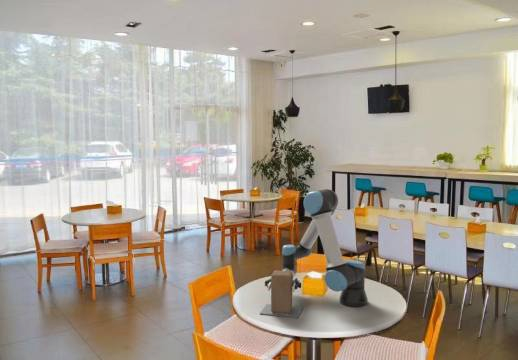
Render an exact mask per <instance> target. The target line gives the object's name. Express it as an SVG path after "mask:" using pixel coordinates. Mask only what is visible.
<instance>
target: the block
mask: <svg viewBox="0 0 518 360" xmlns="http://www.w3.org/2000/svg"><path fill="white" fill-rule="evenodd" d="M270 279H271V289H270V304H271V311H272V312H275V313H290V311H291V308H292V306H293V292H292V287H293V286H292V272H291V271H282V270H278V269H277V270H273V272H272V274H271V276H270Z"/></svg>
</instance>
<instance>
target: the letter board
mask: <svg viewBox="0 0 518 360" xmlns="http://www.w3.org/2000/svg"><path fill="white" fill-rule="evenodd" d="M303 310H304V307H301V306H293V305H292V308H291V311H290V313H275V312H272V311H271V303H266V304H265V306H264V307H263V308H262V310H261V311H260V312H259V315H262V316H271V317H272V316H274V317H281V316H283V317H284V318H290V319H299V318H300V316H301V313H302V311H303Z"/></svg>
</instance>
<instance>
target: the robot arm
mask: <svg viewBox="0 0 518 360" xmlns="http://www.w3.org/2000/svg"><path fill="white" fill-rule="evenodd" d="M338 204H339V198H338V195H337V193H336V192H335V191H333V190H332V189H327V188H326V189H320V190H319V189H318V190H312V191H310V192H308V193H307V194H305V197H304V199H303V208H304V210H305V211H306V212H307V213H309V214H310V217H311V219H312V220H311V221H310V223H309V225H308V227H307V229H306V231H305V233H304V234H303V236H302V238H301V240H300V241H299V243H298V245H296V246H295V245H293V244H284V245H283V246H282V249H281V250H282V251H281V255H282V258H281V259H282V261H281V263H282V265H281V267H282V268H281V269H282V270H281V271H291V272H292V294H293V293H295V291H296V290H297V289H302V283H301V281H300V280H298V278H297V277H295V276H296V273H297V269H296V268H297V267H296V260H300V259H303V258H307V257H308V256H311V254H312V253H313V249H312V247H313V246H314V244H315V242H316V240H317V239H318V237H319V238H320V242H321V246H322V249H323V253H324V257H325V260H326V262H327V264H325V265H326V266H325V271H326V273H325V275H324V282H325V284H326V286H327V287H328V289H330V290H332V291H334V292H340V295H339V303H340V304H341V305H344V306H347V307H355V308H356V307H358V308H359V307H364V306H365V307H366V306H367V305H368V300H369V299H368V296H367V293H366V289H365V280H366V279H365V278H366V276H365V275H366V268H365V266H366V265H365V263H364V262H362V261H359V260H353V259H352V260H351V259H344V258H343V253H342V252H341V251H342V250H341V247H340V244H339V241H338V236H337V234H336V231H335V230H336V229H335V227H334V224H333V220H332V216H333V214H334V213H335V211H336V210H337V207H338ZM294 277H295V278H294ZM264 287H266V288H267V292H269V291H271V278H269V279H267V280H265V281H264Z"/></svg>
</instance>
